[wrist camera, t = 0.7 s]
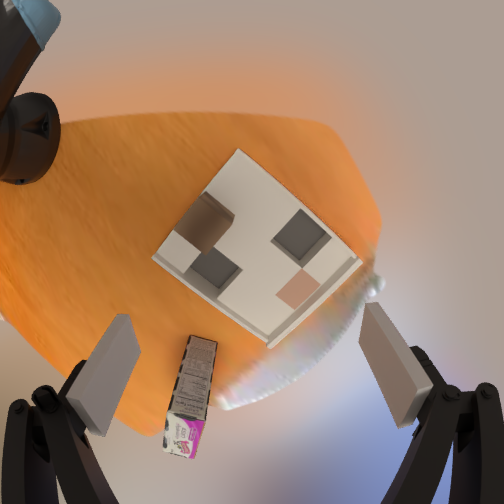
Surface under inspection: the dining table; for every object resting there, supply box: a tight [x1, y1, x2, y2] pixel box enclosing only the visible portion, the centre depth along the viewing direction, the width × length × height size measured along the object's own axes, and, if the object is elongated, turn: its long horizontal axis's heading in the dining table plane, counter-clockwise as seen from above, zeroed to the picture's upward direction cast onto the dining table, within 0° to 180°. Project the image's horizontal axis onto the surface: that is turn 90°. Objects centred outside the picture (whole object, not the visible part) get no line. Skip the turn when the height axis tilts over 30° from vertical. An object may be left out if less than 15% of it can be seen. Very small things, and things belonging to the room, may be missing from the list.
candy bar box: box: [163, 335, 218, 459], centre depth 37 cm, size 11×5×16 cm, turn 165°
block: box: [173, 191, 235, 255], centre depth 32 cm, size 4×4×4 cm
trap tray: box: [151, 148, 363, 349], centre depth 36 cm, size 20×17×5 cm
